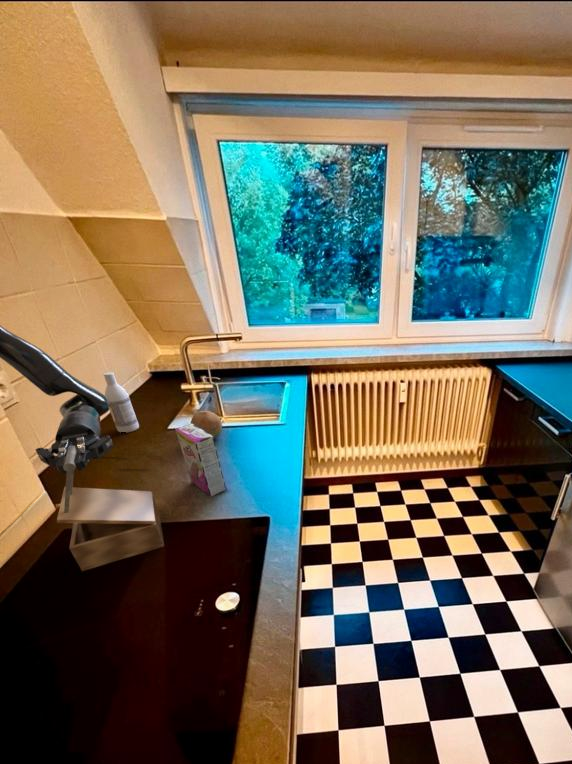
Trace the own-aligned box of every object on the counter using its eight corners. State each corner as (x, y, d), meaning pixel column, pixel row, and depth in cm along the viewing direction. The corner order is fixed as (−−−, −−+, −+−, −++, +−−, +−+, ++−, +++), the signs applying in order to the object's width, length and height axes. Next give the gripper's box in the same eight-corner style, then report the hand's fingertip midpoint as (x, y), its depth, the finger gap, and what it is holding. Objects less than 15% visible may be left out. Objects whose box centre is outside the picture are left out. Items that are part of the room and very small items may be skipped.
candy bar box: (190, 482, 107) (173, 428, 98) (206, 475, 110) (192, 422, 101) (210, 498, 100) (194, 442, 92) (227, 490, 104) (214, 435, 95)
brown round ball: (229, 432, 133) (223, 405, 128) (217, 446, 125) (211, 417, 120) (202, 432, 134) (195, 404, 129) (189, 445, 126) (181, 416, 120)
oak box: (82, 571, 79) (69, 548, 76) (86, 535, 88) (74, 513, 85) (164, 546, 85) (155, 524, 82) (159, 515, 94) (152, 494, 91)
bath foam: (116, 428, 137) (94, 372, 127) (137, 423, 141) (118, 368, 130) (119, 435, 133) (97, 378, 122) (141, 430, 136) (121, 374, 125)
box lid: (56, 523, 72) (59, 468, 68) (64, 489, 82) (67, 440, 78) (154, 524, 82) (162, 476, 77) (151, 494, 91) (158, 450, 87)
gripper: (33, 423, 80) (16, 459, 67) (108, 411, 86) (106, 442, 73) (49, 454, 84) (35, 494, 71) (120, 441, 90) (119, 476, 77)
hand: (71, 467), depth 72 cm, fingers closed on box lid, 2 cm apart
